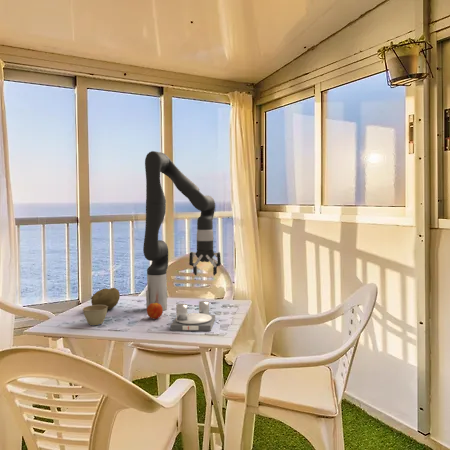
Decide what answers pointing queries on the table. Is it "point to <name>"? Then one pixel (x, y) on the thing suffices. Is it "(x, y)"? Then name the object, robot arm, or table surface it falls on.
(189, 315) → the scale
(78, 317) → the table surface
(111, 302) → the decorative stone
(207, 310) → the cylinder
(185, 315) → the cylinder
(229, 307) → the table surface
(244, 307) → the table surface
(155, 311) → the fruit
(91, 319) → the flower pot
